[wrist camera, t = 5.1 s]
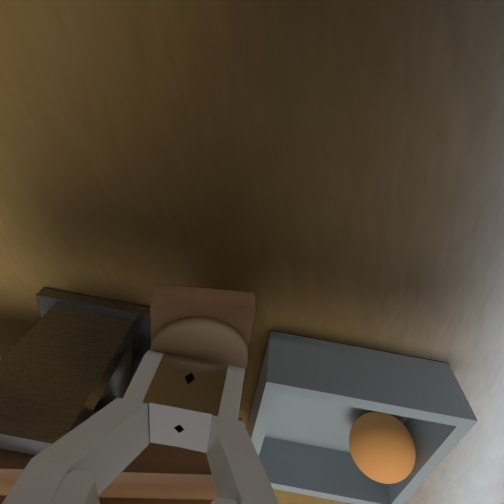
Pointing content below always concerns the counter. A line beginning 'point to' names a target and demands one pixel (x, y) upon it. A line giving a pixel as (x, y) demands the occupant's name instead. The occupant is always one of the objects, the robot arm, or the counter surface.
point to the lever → (183, 345)
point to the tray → (349, 415)
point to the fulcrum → (68, 366)
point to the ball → (382, 447)
